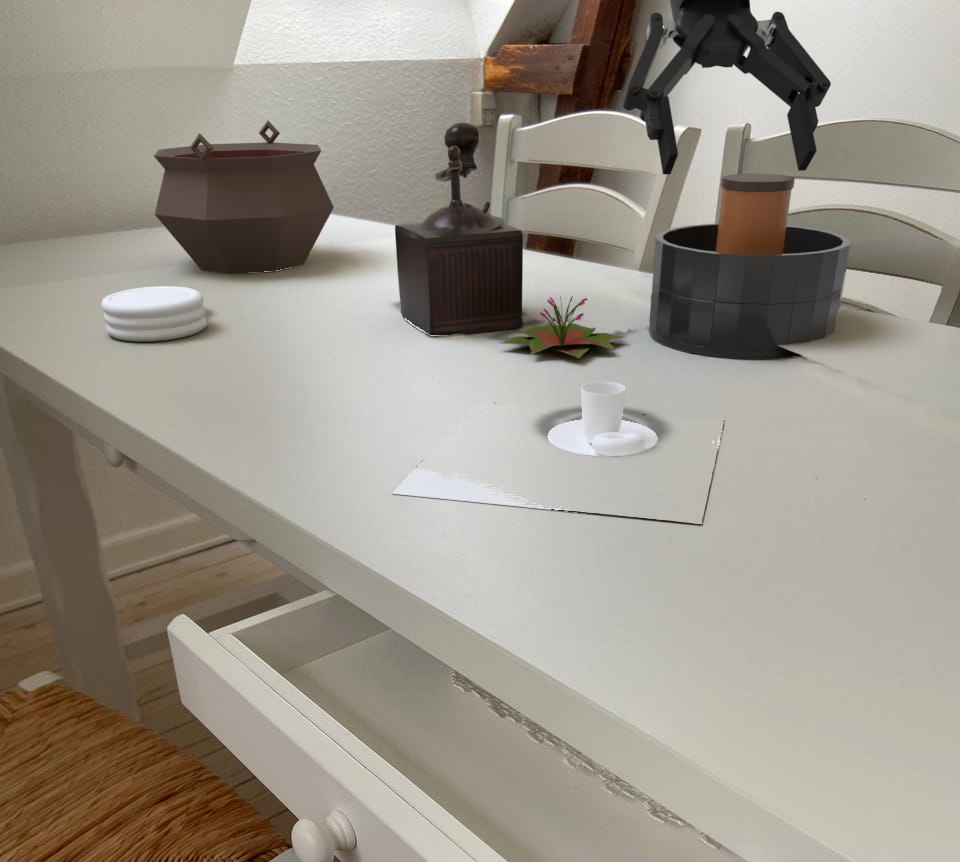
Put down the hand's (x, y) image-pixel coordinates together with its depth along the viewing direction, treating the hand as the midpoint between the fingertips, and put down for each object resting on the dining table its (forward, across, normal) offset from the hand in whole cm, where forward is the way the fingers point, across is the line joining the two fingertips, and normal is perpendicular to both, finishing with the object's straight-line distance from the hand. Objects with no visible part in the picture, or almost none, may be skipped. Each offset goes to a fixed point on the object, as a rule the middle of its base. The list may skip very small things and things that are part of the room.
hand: (739, 163), depth 96 cm
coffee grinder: (+6, +27, -16) cm, 32 cm away
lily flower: (+16, +18, -6) cm, 25 cm away
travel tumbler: (+14, 0, -6) cm, 15 cm away
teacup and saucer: (+36, +23, +14) cm, 45 cm away
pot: (+14, 0, -7) cm, 16 cm away
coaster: (+6, +58, -15) cm, 60 cm away
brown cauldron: (-18, +51, -40) cm, 67 cm away
